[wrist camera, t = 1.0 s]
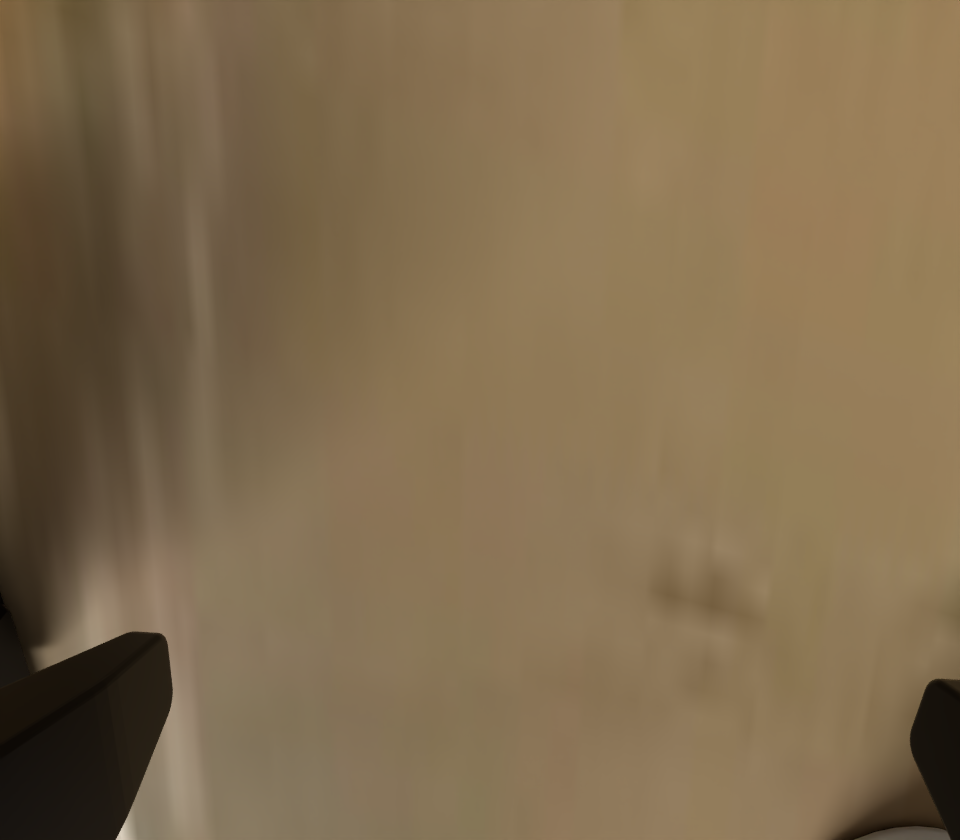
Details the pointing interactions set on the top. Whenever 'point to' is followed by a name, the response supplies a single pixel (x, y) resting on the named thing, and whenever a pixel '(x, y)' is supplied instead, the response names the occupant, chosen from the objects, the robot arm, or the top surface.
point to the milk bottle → (908, 834)
